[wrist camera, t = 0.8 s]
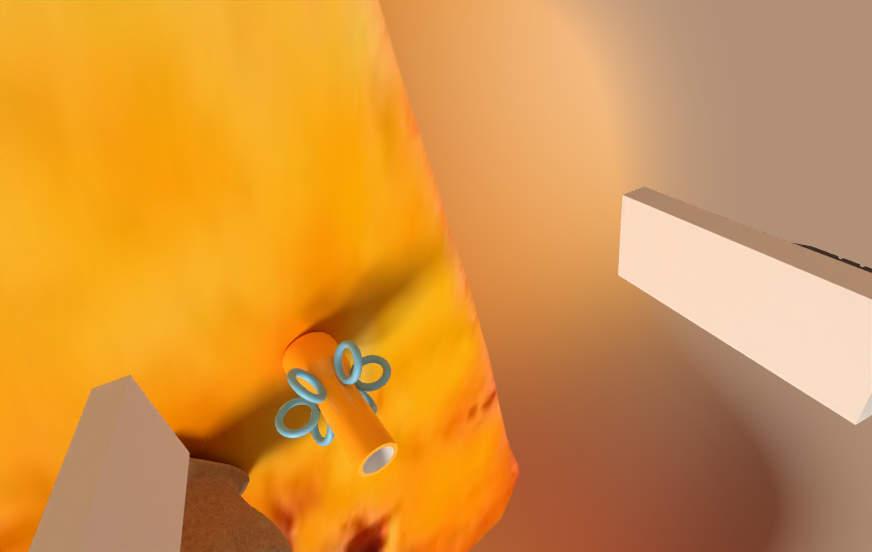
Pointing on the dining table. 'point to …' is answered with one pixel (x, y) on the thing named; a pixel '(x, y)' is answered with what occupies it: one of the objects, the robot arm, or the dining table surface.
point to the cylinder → (337, 400)
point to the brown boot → (224, 513)
